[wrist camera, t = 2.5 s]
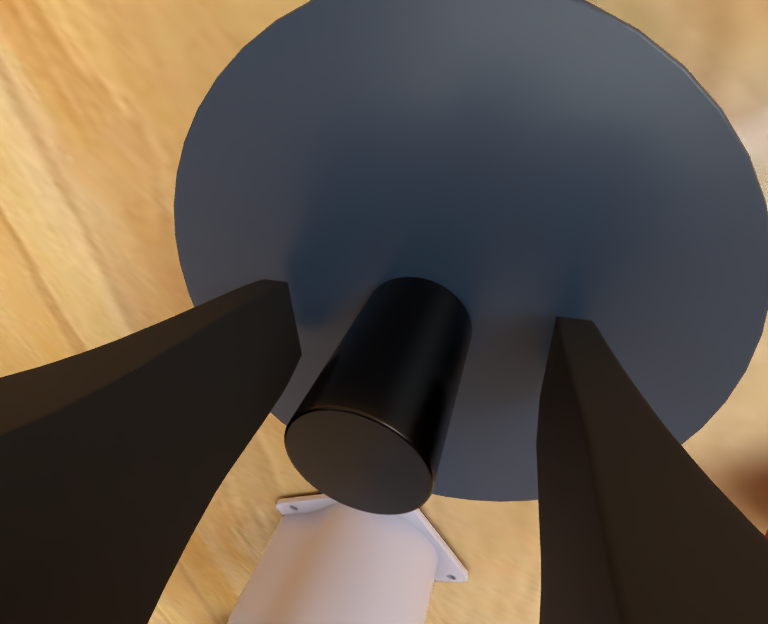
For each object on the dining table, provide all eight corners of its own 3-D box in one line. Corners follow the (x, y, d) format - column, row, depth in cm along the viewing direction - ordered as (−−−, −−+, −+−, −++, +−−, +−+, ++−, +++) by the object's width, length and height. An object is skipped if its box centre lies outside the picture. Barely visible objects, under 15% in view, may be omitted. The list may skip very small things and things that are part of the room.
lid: (365, 487, 16) (304, 642, 12) (119, 187, 12) (-99, 276, 8) (810, 434, 9) (989, 731, 5) (620, -279, 5) (808, -1110, 1)
